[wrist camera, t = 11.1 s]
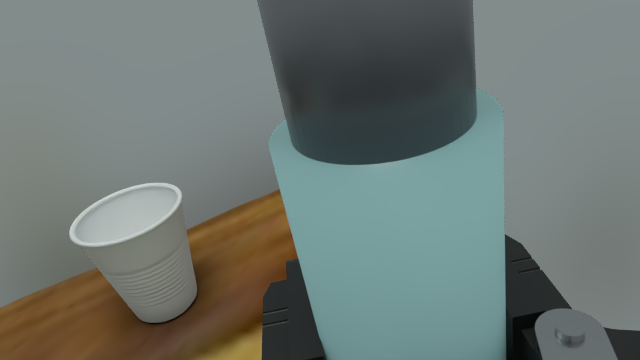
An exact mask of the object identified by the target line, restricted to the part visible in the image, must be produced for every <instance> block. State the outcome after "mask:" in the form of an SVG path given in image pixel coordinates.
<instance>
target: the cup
mask: <svg viewBox="0 0 640 360" xmlns="http://www.w3.org/2000/svg"><path fill="white" fill-rule="evenodd" d="M181 202H182V193H181V191H180V189H179V188H177V187H176V186H174V185H171V184H167V183H148V184H142V185H137V186H133V187H130V188H126V189H123V190H121V191H118V192H115V193H113V194H111V195H109V196H107V197H105V198H103V199H101V200H99V201H97V202H96V203H94V204H93V205H91V206H90V207H88V208H87V209H86V210H84V211H83V212H82V213H81V214H80V215H79V216H78V217H77V218H76V219H75V221H74V222H73V224H72V225H71V228H70V231H69V235H70V238H71V240H72V242H74V243H75V244H77V245H78V246H80V247H81V248H82V250H83V251H84V252H85V253H86V254H87V256H88V257H89V258H90V259H91V261H92V262H93V263H94V264H95V265H96V267H97V268H98V269H99V270H100V271H101V273H102V274H103V275H104V276H105V278H106V279H107V280H108V281H109V282H110V284H111V285H112V286H113V287H114V289H115V290H116V291H117V292H118V293H119V295H120V296H121V297H122V299H123V300H124V301H125V302H126V303H127V305H128V306H129V307H130V309H131V310H132V311H133V312H134V313H135V315H136V316H137V317H138V318H139V319H140V320H142V321H144V322H149V323H160V322H165V321H168V320H171V319H173V318H175V317H177V316H179V315H180V314H182V313H183V312H184V311H186V310H187V309H188V307H189V306H190V305H191V304H192V302H193V301H194V299H195V297H196V295H197V285H196V279H195V274H194V270H193V264H192V259H191V254H190V249H189V242H188V237H187V232H186V226H185V220H184V215H183V209H182V205H181Z"/></svg>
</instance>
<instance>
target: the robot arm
mask: <svg viewBox="0 0 640 360" xmlns="http://www.w3.org/2000/svg"><path fill="white" fill-rule="evenodd" d="M286 271H287V280H283V281H279V282H274V283H271V284H270V286H269V288H268V290H267V292H266V293H265V295H264V297H263V331H262V360H326V357H325V353H324V349H323V345H322V342H321V340H320V337H319V334H318V330H317V326H316V323H315V319H314V315H313V311H312V308H311V304H310V300H309V296H308V293H307V289H306V285H305V281H304V278H303V274H302V270H301V266H300V263H299V259H293V260H289V261H286ZM505 295H506V360H640V331H633V330H616V329H609V328H604V327H603V326H602V325H601V324H600V323H599V322H598V321H597V320H596V319H594V318H593V317H591V316H590V315H588V314H585V313H583V312H580V311H577V310H573V309H572V308H571V307H570V306H569V304H568V303H567V302H566V300H565V299H564V298H563V297H562V296H561V294H560V293H559V292H558V290H557V289H556V288H555V286H554V285H553V284H552V283H551V281H550V280H549V279H548V277H547V276H546V275H545V274H544V272H543V271H542V270H540V268H539V266H538V265H537V263H536V262H535V261H534V260H532V258H531V256H530V254H529V253H528V252H527V250H526V249H525V248H524V247H523V245H522V244H521V243H519V242H517V241H516V240H514V239H512V238H510V237H509V236H507V235H505Z"/></svg>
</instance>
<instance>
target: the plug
mask: <svg viewBox="0 0 640 360" xmlns="http://www.w3.org/2000/svg"><path fill="white" fill-rule="evenodd" d="M257 2H258V6H259V10H260V14H261V18H262V23H263V27H264V31H265V35H266V39H267V43H268V47H269V51H270V55H271V60H272V64H273V68H274V72H275V77H276V81H277V85H278V89H279V93H280V97H281V101H282V105H283V109H284V114H285V118H286V119H285V120H283V122H281V123H280V124H279V125H278V126H277V127H276V128H275V130H274V131H273V133H272V134H271V137H270V139H269V150H270V154H271V157H272V161H273V165H274V169H275V172H276V176H277V180H278V184H279V188H280V191H281V195H282V199H283V203H284V206H285V210H286V214H287V218H288V221H289V225H290V229H291V233H292V236H293V240H294V244H295V248H296V251H297V255H298V259H299V263H300V266H301V270H302V274H303V278H304V281H305V285H306V289H307V293H308V296H309V300H310V304H311V308H312V311H313V315H314V319H315V323H316V326H317V330H318V334H319V337H320V340H321V342H322V345H323V349H324V353H325V357H326V360H506V295H505V224H504V223H505V221H504V219H505V215H504V140H503V139H504V135H503V110H502V106H501V105H500V103H499V102H498V101H497V99H495V98H494V97H493V96H492V95H490V94H488V93H487V92H485V91H483V90H480V89H478V88H476V72H475V46H474V22H473V0H257Z"/></svg>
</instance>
